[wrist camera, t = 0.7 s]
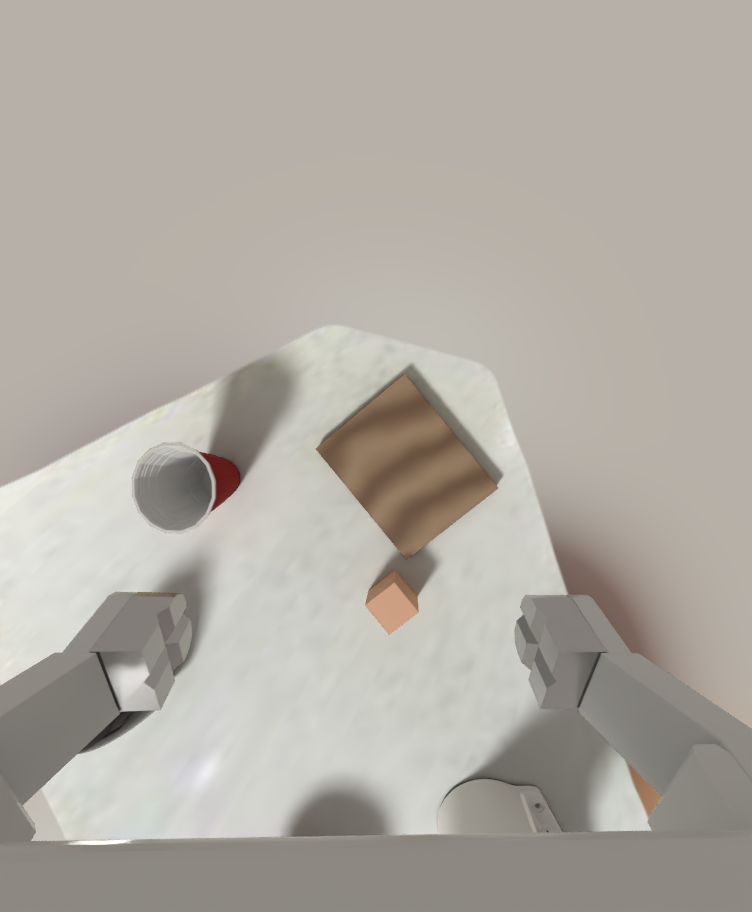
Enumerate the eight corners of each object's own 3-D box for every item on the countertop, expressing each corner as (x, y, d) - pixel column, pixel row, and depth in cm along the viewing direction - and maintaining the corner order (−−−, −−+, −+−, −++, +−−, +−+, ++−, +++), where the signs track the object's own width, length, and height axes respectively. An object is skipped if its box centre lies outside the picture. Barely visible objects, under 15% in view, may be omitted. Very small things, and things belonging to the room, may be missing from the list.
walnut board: (495, 486, 53) (498, 488, 52) (406, 556, 55) (406, 559, 53) (404, 375, 54) (404, 373, 52) (317, 448, 55) (315, 448, 54)
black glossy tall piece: (198, 658, 58) (125, 736, 43) (160, 709, 59) (76, 803, 44) (145, 617, 58) (54, 681, 43) (109, 668, 59) (7, 748, 44)
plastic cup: (191, 433, 56) (134, 433, 44) (262, 448, 56) (223, 452, 44) (179, 505, 57) (119, 523, 45) (248, 521, 56) (206, 544, 44)
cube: (417, 596, 55) (418, 612, 50) (390, 616, 56) (389, 634, 51) (395, 569, 55) (394, 582, 50) (368, 590, 56) (365, 605, 51)
